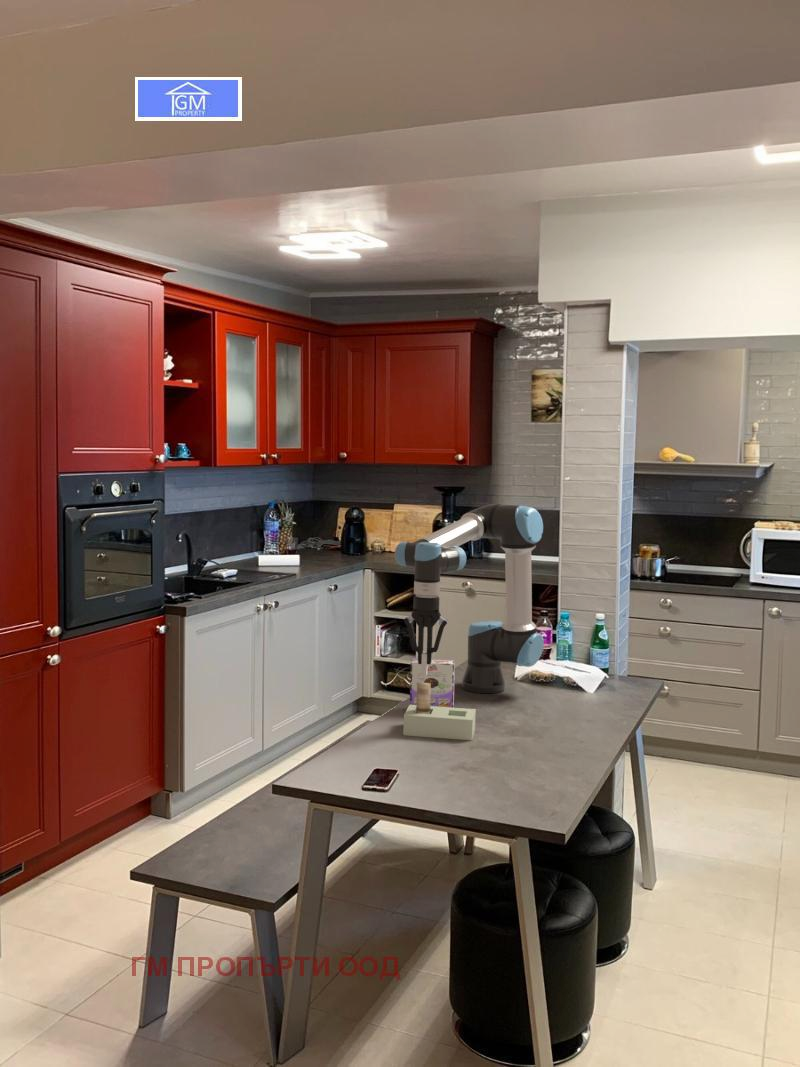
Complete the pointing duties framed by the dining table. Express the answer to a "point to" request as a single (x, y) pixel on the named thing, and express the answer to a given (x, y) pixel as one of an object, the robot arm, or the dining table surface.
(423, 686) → the dowel
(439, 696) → the candy box
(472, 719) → the pale green holed block
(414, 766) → the dining table surface
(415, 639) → the robot arm
